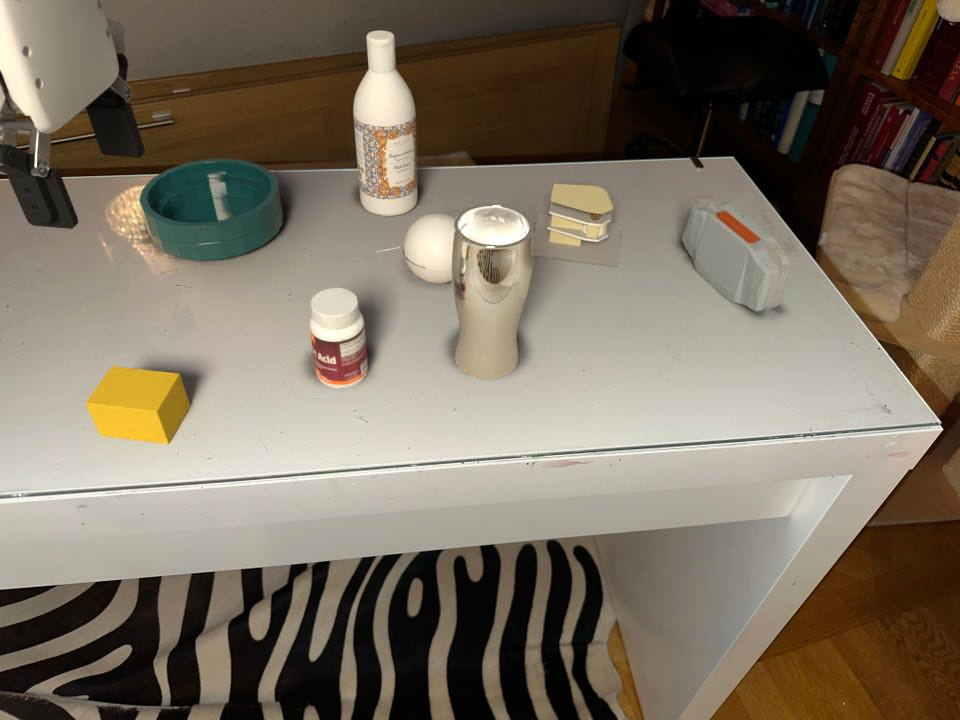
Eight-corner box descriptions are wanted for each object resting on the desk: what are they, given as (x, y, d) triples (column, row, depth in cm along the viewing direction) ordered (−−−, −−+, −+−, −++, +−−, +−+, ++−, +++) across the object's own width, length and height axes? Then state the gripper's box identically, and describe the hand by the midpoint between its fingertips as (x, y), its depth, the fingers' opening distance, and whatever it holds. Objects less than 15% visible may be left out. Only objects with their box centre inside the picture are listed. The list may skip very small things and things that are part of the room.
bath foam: (379, 224, 88) (367, 52, 75) (350, 198, 92) (334, 30, 79) (428, 207, 91) (426, 39, 78) (398, 183, 95) (391, 19, 82)
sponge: (100, 436, 63) (84, 403, 60) (125, 398, 66) (111, 365, 64) (168, 444, 63) (156, 411, 60) (190, 406, 66) (179, 373, 63)
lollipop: (472, 257, 84) (474, 200, 79) (471, 298, 78) (474, 239, 73) (382, 255, 84) (379, 197, 79) (376, 296, 78) (371, 236, 73)
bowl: (128, 258, 82) (115, 219, 78) (183, 190, 92) (174, 153, 89) (259, 272, 81) (251, 232, 77) (299, 202, 91) (294, 164, 88)
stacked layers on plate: (529, 255, 85) (533, 213, 81) (538, 213, 91) (542, 172, 87) (618, 267, 84) (626, 224, 80) (621, 224, 90) (629, 183, 86)
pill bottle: (306, 371, 70) (294, 300, 64) (347, 348, 72) (339, 277, 66) (337, 398, 67) (328, 326, 62) (379, 373, 70) (373, 302, 64)
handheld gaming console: (776, 320, 78) (801, 256, 72) (754, 327, 77) (777, 262, 71) (693, 246, 87) (710, 184, 82) (672, 251, 86) (687, 189, 81)
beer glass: (537, 357, 72) (553, 224, 62) (489, 395, 68) (498, 259, 58) (483, 325, 75) (489, 193, 65) (434, 359, 71) (433, 224, 61)
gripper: (14, -126, 48) (100, 129, 59) (-198, -54, 35) (-36, 252, 46) (127, -121, 47) (192, 136, 59) (-46, -45, 34) (80, 263, 46)
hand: (91, 187), depth 53 cm, fingers open, 9 cm apart
